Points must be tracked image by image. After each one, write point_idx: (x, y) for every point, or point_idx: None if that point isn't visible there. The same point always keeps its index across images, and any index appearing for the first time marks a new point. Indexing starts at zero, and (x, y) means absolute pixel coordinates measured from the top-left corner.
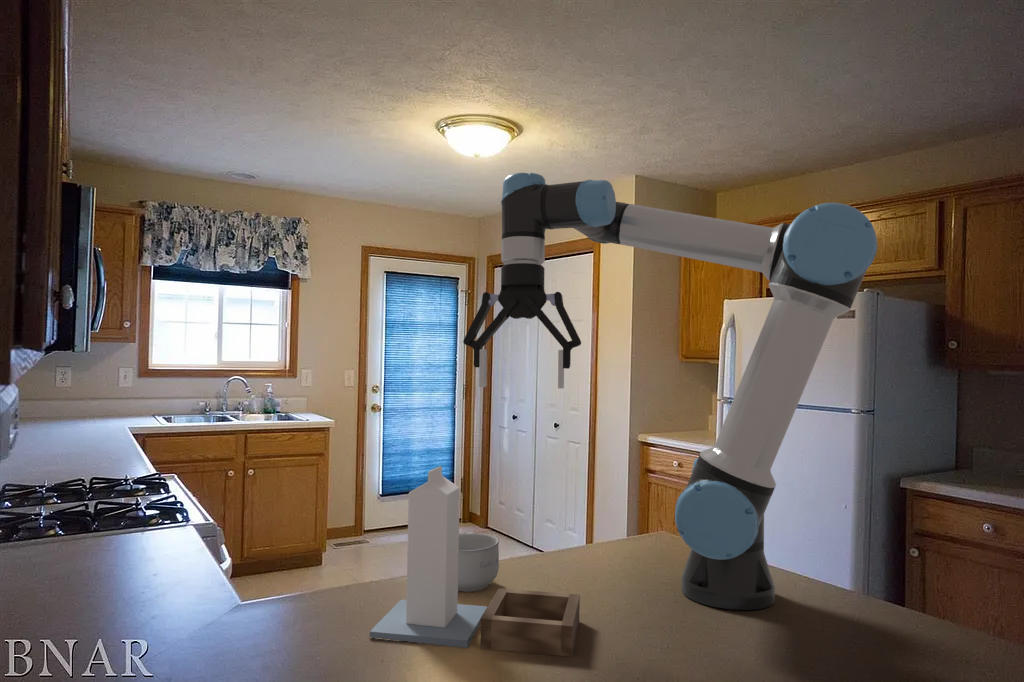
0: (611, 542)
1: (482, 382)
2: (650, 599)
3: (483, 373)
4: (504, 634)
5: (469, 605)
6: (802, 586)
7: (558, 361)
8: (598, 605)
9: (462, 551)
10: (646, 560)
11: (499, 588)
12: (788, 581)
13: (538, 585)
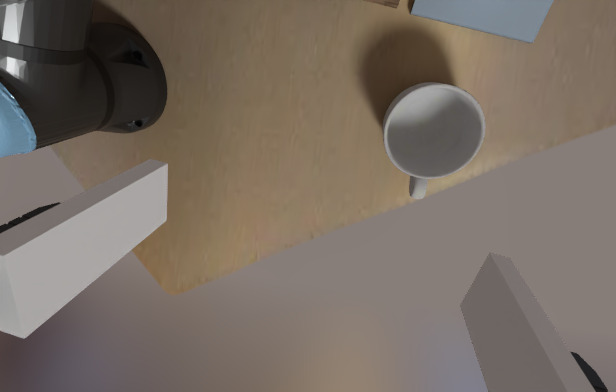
0: (226, 270)
1: (501, 267)
2: (204, 66)
3: (514, 295)
4: None
5: (435, 16)
6: None
7: (73, 215)
8: (266, 44)
9: (448, 84)
10: (194, 204)
11: (397, 3)
12: None
13: (330, 121)
